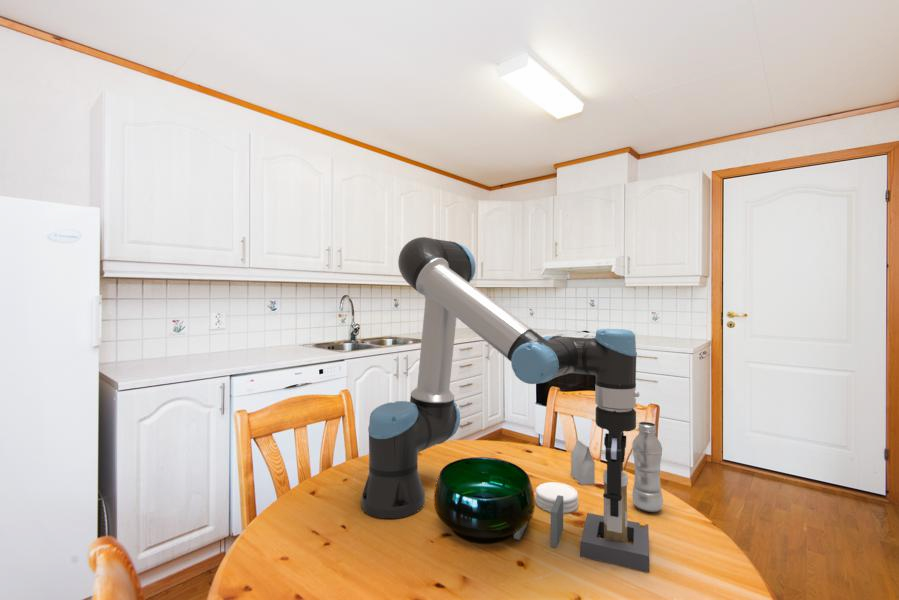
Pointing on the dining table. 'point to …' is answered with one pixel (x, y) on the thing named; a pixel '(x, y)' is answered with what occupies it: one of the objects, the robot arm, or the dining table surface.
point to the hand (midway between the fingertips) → (615, 524)
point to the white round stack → (549, 493)
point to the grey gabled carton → (582, 464)
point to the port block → (616, 544)
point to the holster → (555, 523)
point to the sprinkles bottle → (615, 535)
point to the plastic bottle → (647, 469)
